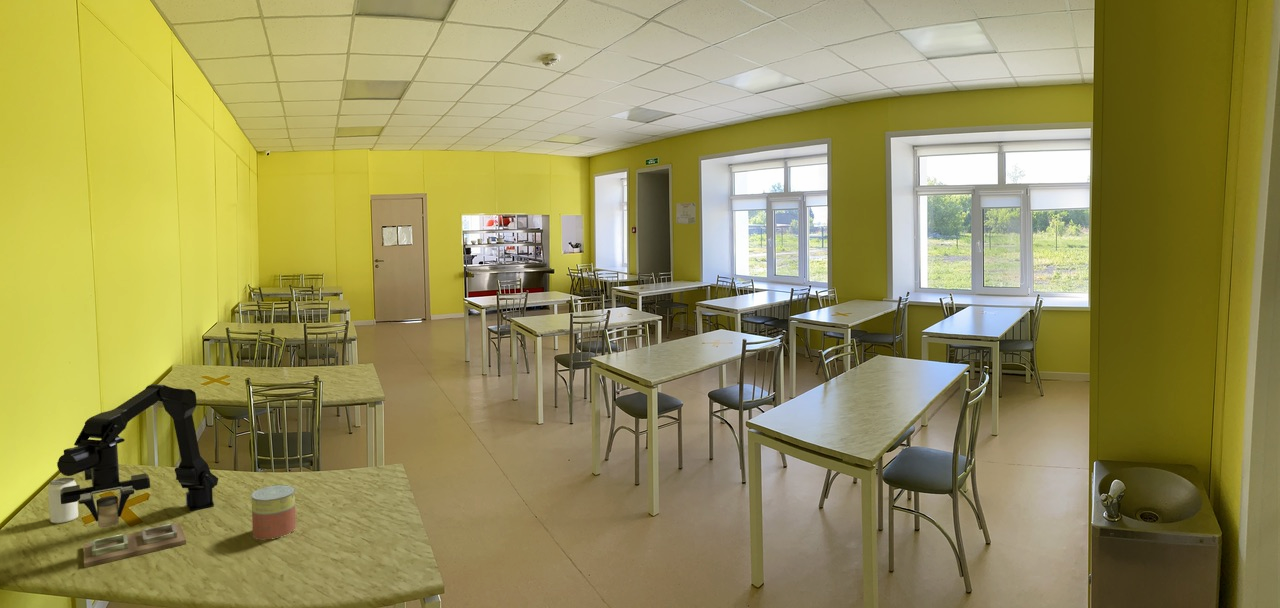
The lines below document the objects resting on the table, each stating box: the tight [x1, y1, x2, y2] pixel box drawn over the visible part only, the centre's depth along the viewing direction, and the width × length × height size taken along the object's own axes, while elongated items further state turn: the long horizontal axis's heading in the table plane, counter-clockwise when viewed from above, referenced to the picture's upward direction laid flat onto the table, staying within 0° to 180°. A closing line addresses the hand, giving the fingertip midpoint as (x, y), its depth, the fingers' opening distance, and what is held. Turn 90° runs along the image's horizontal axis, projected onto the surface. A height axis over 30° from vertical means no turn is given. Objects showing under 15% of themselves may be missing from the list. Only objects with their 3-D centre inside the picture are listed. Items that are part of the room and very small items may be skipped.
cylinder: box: [95, 495, 120, 529], centre depth 181 cm, size 4×4×7 cm
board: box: [82, 522, 187, 568], centre depth 186 cm, size 22×14×3 cm, turn 130°
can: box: [47, 477, 79, 524], centre depth 200 cm, size 6×6×12 cm
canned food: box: [250, 484, 297, 540], centre depth 196 cm, size 11×11×12 cm
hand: (108, 518), depth 181 cm, fingers closed on cylinder, 4 cm apart
